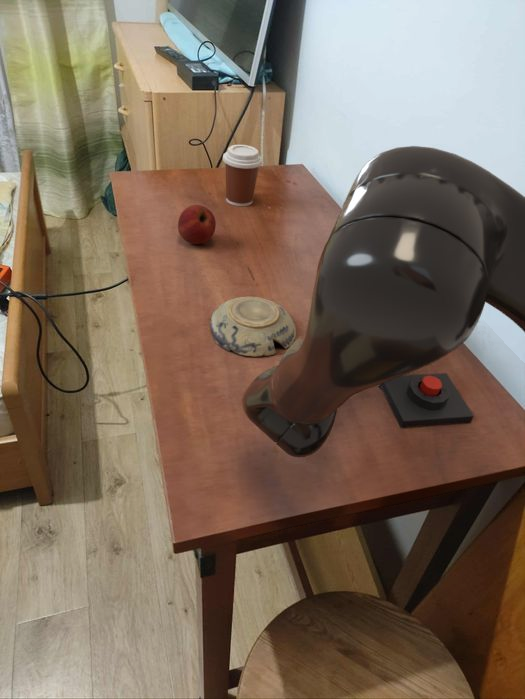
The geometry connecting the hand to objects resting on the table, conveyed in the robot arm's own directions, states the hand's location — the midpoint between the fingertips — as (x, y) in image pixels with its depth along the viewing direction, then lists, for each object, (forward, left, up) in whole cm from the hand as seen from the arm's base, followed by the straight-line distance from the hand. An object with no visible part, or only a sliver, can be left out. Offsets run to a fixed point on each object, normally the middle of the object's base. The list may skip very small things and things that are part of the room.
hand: (396, 291), depth 79 cm
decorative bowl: (+21, -5, -11) cm, 24 cm away
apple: (+28, -34, -11) cm, 45 cm away
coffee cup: (+16, -54, -11) cm, 57 cm away
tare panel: (-2, +14, -10) cm, 18 cm away
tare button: (-2, +14, -8) cm, 16 cm away
